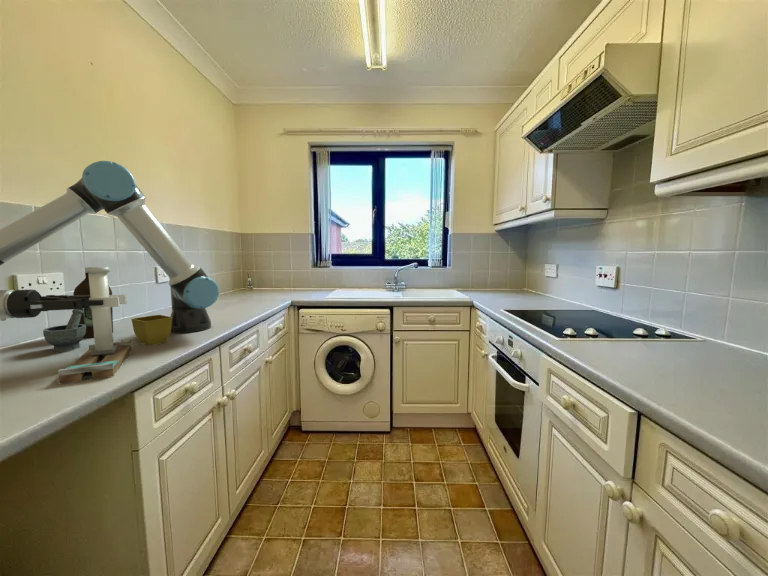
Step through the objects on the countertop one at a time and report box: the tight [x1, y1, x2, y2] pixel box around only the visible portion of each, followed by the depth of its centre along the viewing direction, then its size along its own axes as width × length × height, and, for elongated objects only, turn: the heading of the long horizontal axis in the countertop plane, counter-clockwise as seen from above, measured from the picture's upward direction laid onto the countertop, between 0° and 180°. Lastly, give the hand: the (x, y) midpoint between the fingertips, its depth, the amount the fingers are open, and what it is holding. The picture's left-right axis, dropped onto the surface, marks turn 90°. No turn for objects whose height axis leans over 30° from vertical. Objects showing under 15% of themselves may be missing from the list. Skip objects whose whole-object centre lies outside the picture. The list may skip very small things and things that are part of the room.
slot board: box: [57, 340, 133, 385], centre depth 89 cm, size 10×24×3 cm, turn 29°
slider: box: [84, 266, 118, 355], centre depth 91 cm, size 5×5×24 cm
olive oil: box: [73, 272, 114, 339], centre depth 118 cm, size 11×11×25 cm
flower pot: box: [131, 314, 172, 347], centre depth 109 cm, size 9×9×9 cm
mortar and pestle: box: [42, 309, 86, 352], centre depth 103 cm, size 11×9×12 cm
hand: (122, 300), depth 93 cm, fingers closed on slider, 4 cm apart
